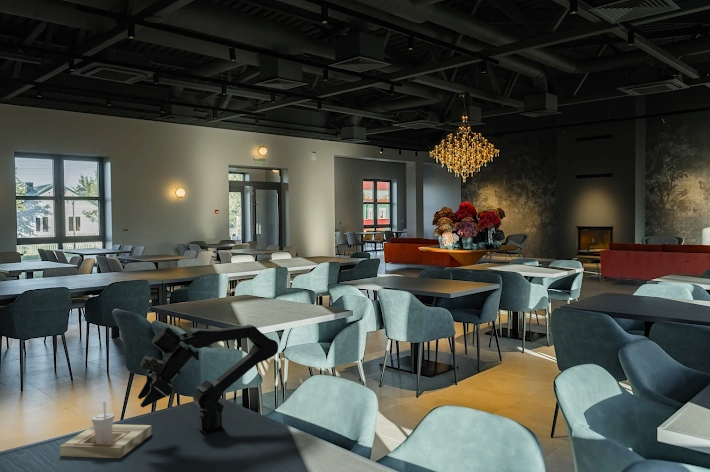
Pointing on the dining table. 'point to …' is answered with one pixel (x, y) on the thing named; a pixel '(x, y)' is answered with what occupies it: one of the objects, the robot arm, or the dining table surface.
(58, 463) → the dining table surface
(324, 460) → the dining table surface
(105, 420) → the smoothie
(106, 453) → the socket board
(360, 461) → the dining table surface
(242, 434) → the dining table surface
